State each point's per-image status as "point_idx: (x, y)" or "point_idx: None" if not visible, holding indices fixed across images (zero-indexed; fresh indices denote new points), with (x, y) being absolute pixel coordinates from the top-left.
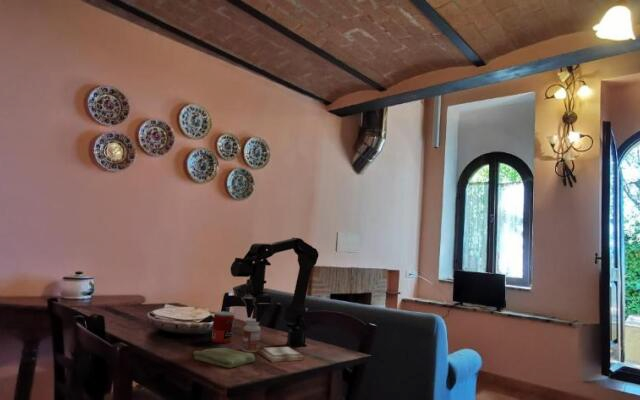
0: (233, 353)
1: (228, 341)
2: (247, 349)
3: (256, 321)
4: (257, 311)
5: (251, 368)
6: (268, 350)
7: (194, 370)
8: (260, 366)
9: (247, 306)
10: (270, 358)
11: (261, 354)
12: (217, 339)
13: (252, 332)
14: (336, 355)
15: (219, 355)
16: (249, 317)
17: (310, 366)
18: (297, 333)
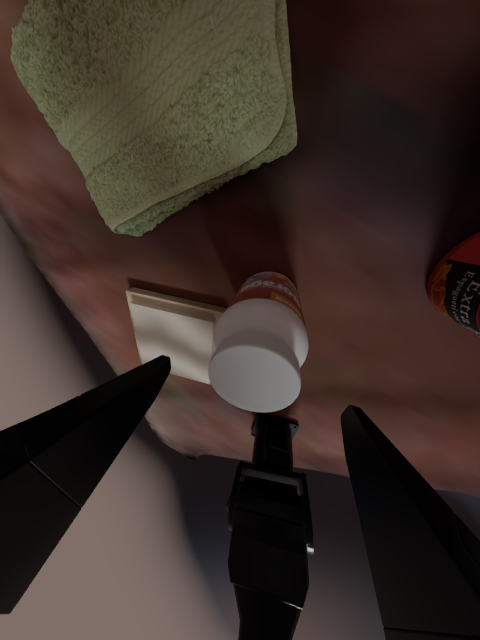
0: (120, 137)
1: (430, 286)
2: (246, 280)
3: (160, 356)
4: (50, 414)
5: (60, 182)
6: (178, 317)
7: None
8: (86, 226)
9: (435, 554)
10: (139, 291)
11: (208, 304)
12: None
13: (220, 317)
14: (173, 421)
15: (87, 12)
16: (343, 412)
17: (100, 340)
18: (256, 453)
